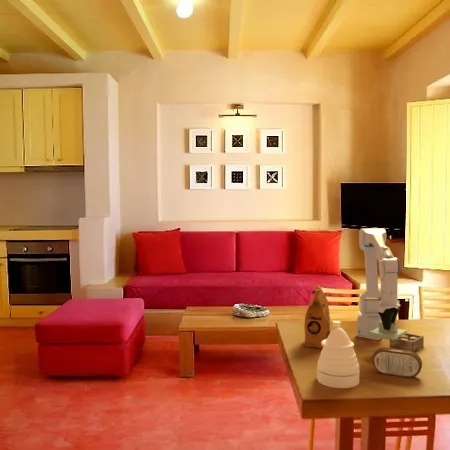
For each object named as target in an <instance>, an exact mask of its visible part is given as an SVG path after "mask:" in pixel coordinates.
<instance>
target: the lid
mask: <svg viewBox="0 0 450 450" xmlns="http://www.w3.org/2000/svg"><path fill="white" fill-rule="evenodd" d="M398 326H399V325H398V323H397V322H395V323H391V328H390V330H385V329H384V328H383V324H382V321H381V322H379V328H377V329H374V330H372V331H370V332H369V335H374V337H378V338H381V339H385V340H389V341H390V340H395V339H397V338H399V337H401V336H402V335H404V334H406V333H408V330H407V329H403V328H402V329H401V328H399V327H398Z"/></svg>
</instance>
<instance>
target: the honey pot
mask: <svg viewBox="0 0 450 450" xmlns="http://www.w3.org/2000/svg"><path fill="white" fill-rule="evenodd" d="M341 324H342V322H341V321H340V320H332V325H333V327H334V328H333V329H332V330H330V334H329V336H328V338H327V339H325V340H323V341H322V342H321V344H322V346H323V348H321V349H322V350H321V352H320V355H319V357H318V361H317V363H316V367H317V368H316V375H317V376H316V380H317V381H318V383H319V384H321V385H324V386H326V387H330V388H336V389H349V388H354V387H356V386H358V385H359V384H360V363H359V362H358V358H357V354H356V352H355V350H354V349H355V347H354V346H355V344H354V342H353V341H351V339H350V337H349V335H348V334H347V332H346V331H345V330H344V329H343V328H342V327H340V326H341Z"/></svg>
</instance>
